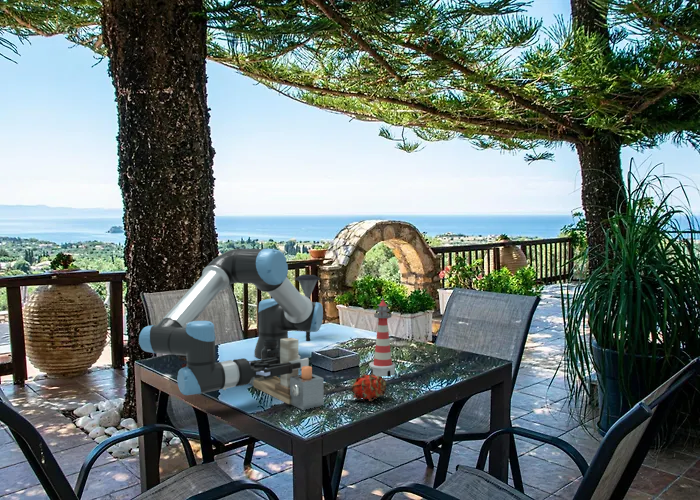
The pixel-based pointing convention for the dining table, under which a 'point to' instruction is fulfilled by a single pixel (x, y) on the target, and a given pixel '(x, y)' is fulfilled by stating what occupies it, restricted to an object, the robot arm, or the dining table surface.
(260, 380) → the cabinet
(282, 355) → the tall cream pillar
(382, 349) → the miniature lighthouse
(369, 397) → the dragon fruit
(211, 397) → the dining table surface
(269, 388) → the rail
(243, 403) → the dining table surface
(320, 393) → the cabinet
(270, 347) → the supplement bottle
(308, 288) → the solar garden light
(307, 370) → the button
